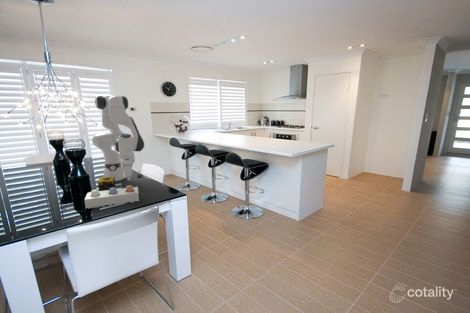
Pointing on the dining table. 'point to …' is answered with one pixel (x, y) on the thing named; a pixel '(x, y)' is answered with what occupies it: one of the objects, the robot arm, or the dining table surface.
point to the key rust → (129, 188)
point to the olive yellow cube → (106, 183)
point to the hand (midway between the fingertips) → (129, 179)
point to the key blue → (112, 191)
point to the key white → (95, 193)
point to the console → (111, 198)
